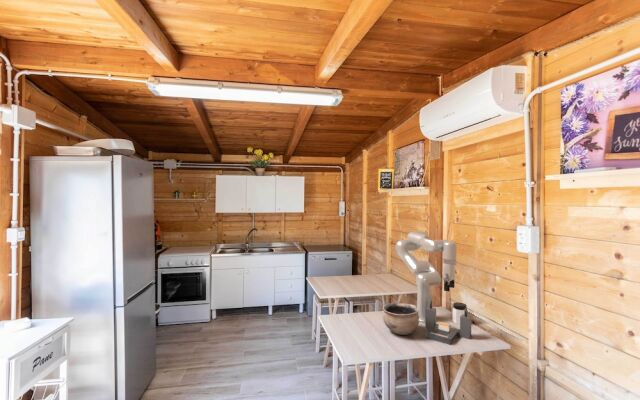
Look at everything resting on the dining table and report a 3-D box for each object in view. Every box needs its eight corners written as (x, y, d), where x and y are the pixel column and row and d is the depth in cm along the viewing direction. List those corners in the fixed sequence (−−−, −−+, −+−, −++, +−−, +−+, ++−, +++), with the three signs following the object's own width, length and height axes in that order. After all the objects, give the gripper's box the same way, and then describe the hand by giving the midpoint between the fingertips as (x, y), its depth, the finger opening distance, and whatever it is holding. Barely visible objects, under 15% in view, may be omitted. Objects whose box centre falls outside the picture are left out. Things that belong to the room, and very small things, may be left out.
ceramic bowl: (421, 341, 182) (421, 315, 182) (382, 338, 186) (382, 312, 186) (417, 326, 204) (417, 303, 204) (382, 323, 208) (382, 300, 208)
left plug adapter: (425, 327, 202) (425, 300, 202) (428, 325, 206) (428, 298, 206) (433, 329, 199) (433, 302, 199) (436, 327, 203) (436, 300, 203)
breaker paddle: (438, 329, 192) (438, 323, 192) (440, 327, 194) (440, 322, 194) (448, 331, 188) (448, 325, 188) (450, 330, 190) (450, 324, 190)
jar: (452, 323, 209) (452, 305, 209) (452, 319, 216) (452, 301, 216) (467, 325, 205) (467, 307, 205) (466, 321, 213) (467, 303, 213)
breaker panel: (425, 337, 187) (425, 332, 187) (436, 328, 201) (436, 323, 201) (450, 344, 178) (450, 339, 178) (460, 334, 192) (460, 329, 192)
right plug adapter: (459, 336, 188) (460, 307, 188) (462, 334, 192) (462, 305, 192) (468, 339, 185) (469, 309, 185) (471, 336, 189) (471, 307, 189)
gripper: (447, 258, 205) (447, 285, 205) (438, 263, 192) (438, 291, 192) (460, 260, 200) (459, 287, 201) (451, 264, 187) (451, 293, 187)
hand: (449, 289), depth 196 cm, fingers open, 9 cm apart
